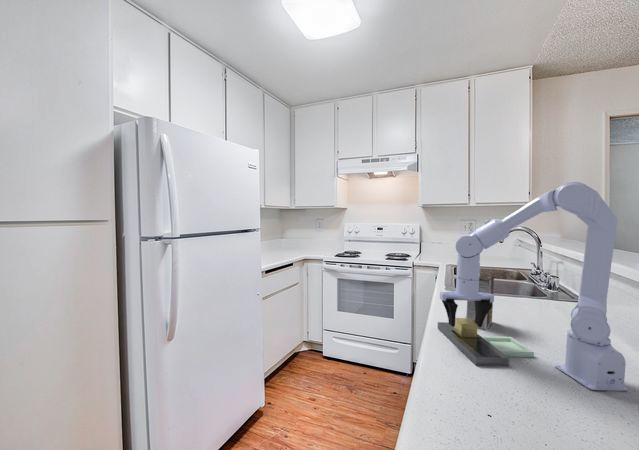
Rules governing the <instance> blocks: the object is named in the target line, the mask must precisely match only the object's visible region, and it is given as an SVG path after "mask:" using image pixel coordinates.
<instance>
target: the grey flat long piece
mask: <svg viewBox="0 0 639 450" xmlns="http://www.w3.org/2000/svg"><path fill="white" fill-rule="evenodd" d="M437 330H438V331H439V332H440V333H442V334H443V336H445V337H446V339H448V340H449V341H450V342H451V343H452V344H453V345H454V346H455V347H456V348H457V349H458V350H459V351H460V352H461V353H462V354H463V355H465V357H467V359H469V361H470V362H471V363H472V364H473V365H474V366H491V367H492V366H495V367H497V366H498V367H508V366H509V362H510V357H507V356H506V355H505V354H503V353H502V352H501V351H499V350H498V349H497V348H495V347H494V346H493V345H491V344H490V343H489V342H488V341H486V340H485V339H484V338H482V337H481V336H482V335H480V334H479V333H477V339H460V338H459V337H457V336H456V335H455V334H454V326H451V325H450V324H449V321H447V322H445V321H444V322H440V321H438V322H437Z"/></svg>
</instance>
